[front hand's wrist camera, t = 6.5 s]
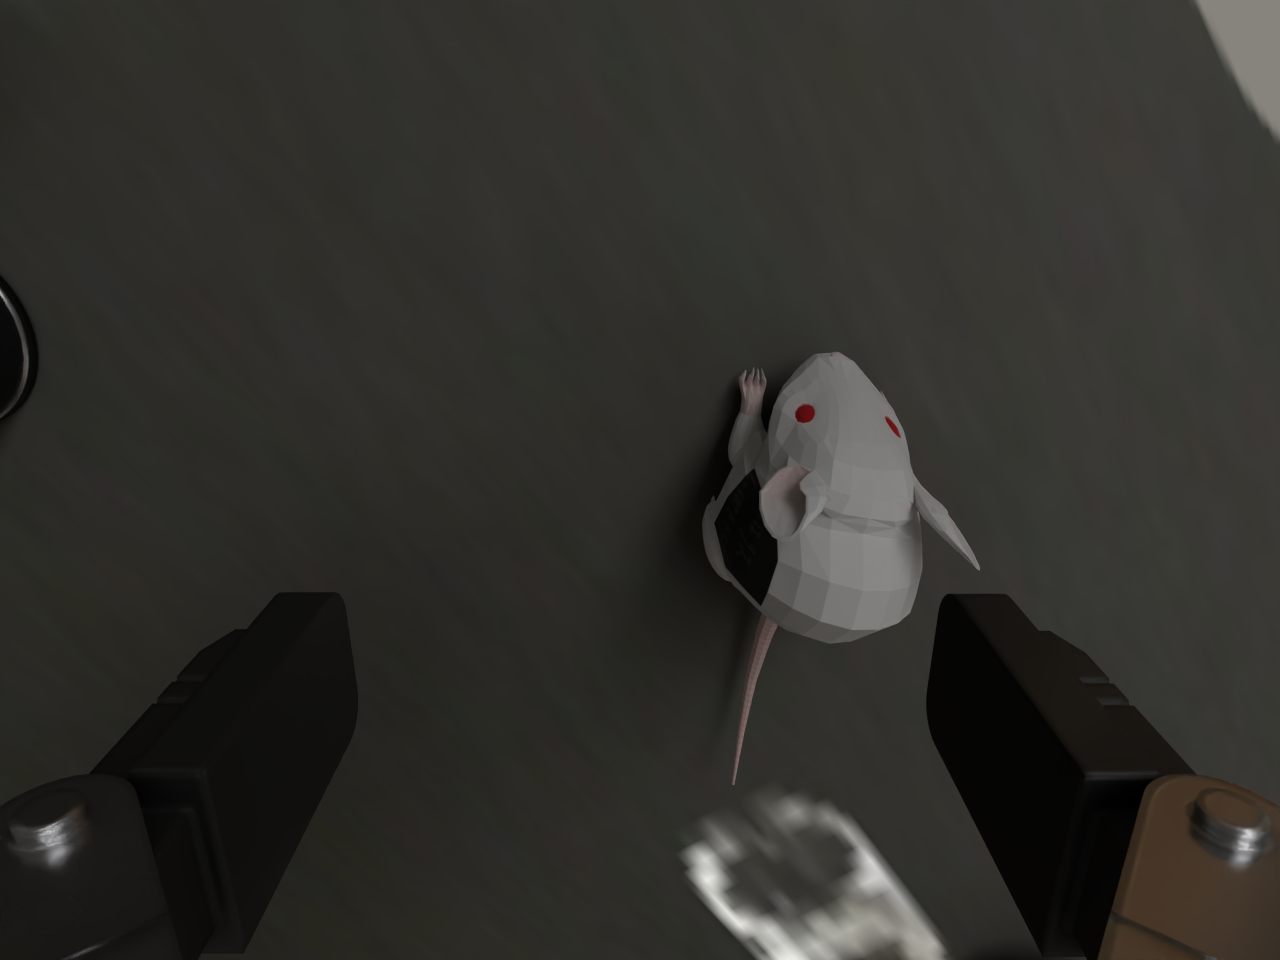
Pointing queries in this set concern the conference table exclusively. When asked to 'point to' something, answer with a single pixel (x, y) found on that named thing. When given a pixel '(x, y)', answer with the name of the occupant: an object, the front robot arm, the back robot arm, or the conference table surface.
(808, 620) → the toy
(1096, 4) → the conference table surface
